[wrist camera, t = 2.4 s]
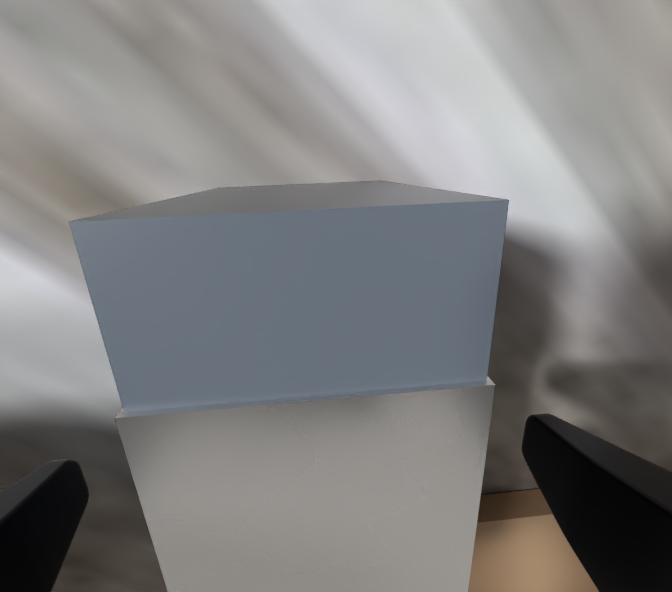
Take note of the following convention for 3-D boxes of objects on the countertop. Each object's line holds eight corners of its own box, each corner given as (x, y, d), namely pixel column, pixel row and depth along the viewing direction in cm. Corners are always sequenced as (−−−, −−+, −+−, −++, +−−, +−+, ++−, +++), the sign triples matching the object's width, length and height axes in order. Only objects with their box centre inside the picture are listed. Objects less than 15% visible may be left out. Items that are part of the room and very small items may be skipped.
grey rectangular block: (261, 493, 12) (226, 783, 6) (217, 187, 9) (55, 223, 3) (380, 480, 12) (447, 747, 7) (381, 180, 9) (520, 200, 3)
